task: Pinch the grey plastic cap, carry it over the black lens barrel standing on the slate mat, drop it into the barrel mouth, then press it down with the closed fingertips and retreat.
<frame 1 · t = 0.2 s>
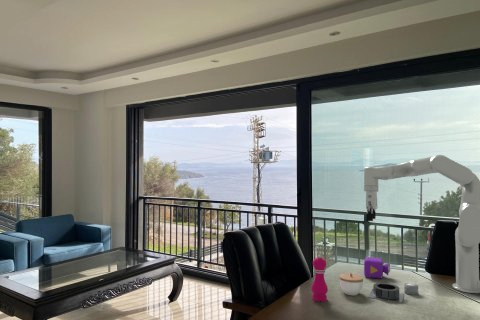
hand: (371, 219, 195), 31 cm above the table, tool pointing down, fingers open, 9 cm apart
toy camera: (376, 277, 194), on the table
pepper mill: (319, 299, 159), on the table
lidded jar: (351, 293, 167), on the table
lens cap: (411, 293, 168), on the table
lens barrel: (386, 296, 163), on the table
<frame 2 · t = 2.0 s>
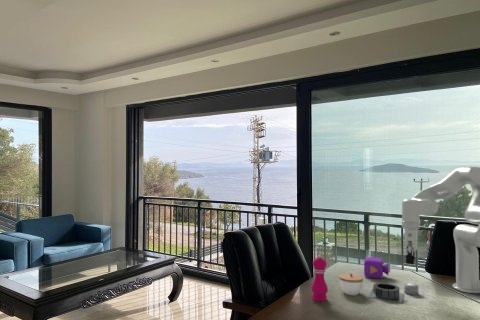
hand: (410, 261, 168), 15 cm above the table, tool pointing down, fingers open, 9 cm apart
nothing on the table moved.
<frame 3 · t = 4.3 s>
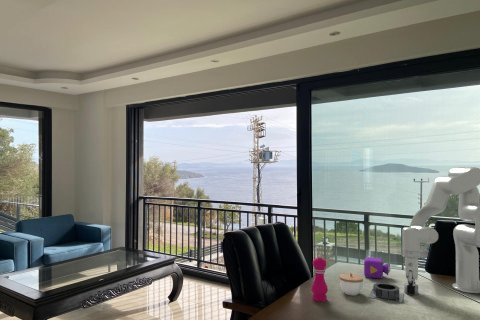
hand: (411, 291, 168), 1 cm above the table, tool pointing down, fingers closed on lens cap, 5 cm apart
lens cap: (411, 293, 168), on the table, touching gripper
everything else where it was.
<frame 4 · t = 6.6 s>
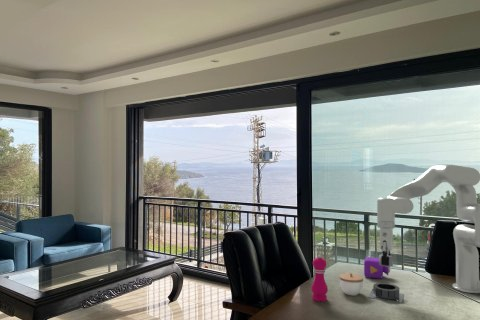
hand: (386, 263, 164), 15 cm above the table, tool pointing down, fingers closed on lens cap, 5 cm apart
lens cap: (385, 264, 164), point 14 cm above the table, touching gripper
everything else where it was.
when the fingers open (5 cm above the table, at t = 9.3 s): lens cap drops 3 cm, resting on lens barrel.
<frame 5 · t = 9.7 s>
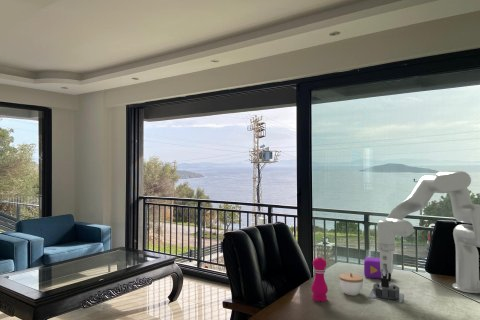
hand: (386, 284, 164), 5 cm above the table, tool pointing down, fingers open, 9 cm apart
lens cap: (386, 293, 164), point 1 cm above the table, touching lens barrel
everything else where it was.
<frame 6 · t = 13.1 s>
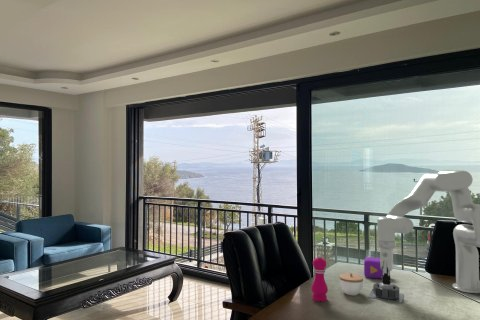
hand: (386, 283, 164), 6 cm above the table, tool pointing down, fingers closed
nothing on the table moved.
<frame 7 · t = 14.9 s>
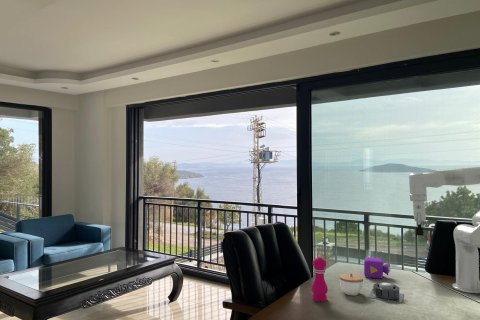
hand: (419, 235, 174), 26 cm above the table, tool pointing down, fingers closed
nothing on the table moved.
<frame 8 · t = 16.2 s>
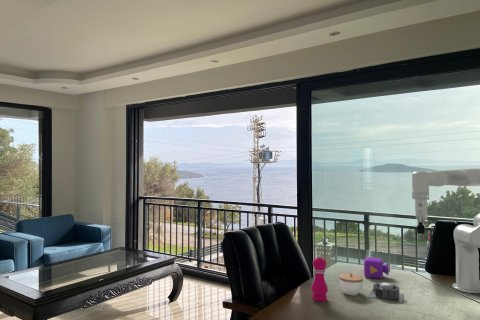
hand: (420, 233, 175), 27 cm above the table, tool pointing down, fingers closed
nothing on the table moved.
at the end: lens cap 0.0 cm off-centre on the lens barrel, point 1.3 cm above the lens barrel's base; lens cap tilted 0°; the gripper is holding nothing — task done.
